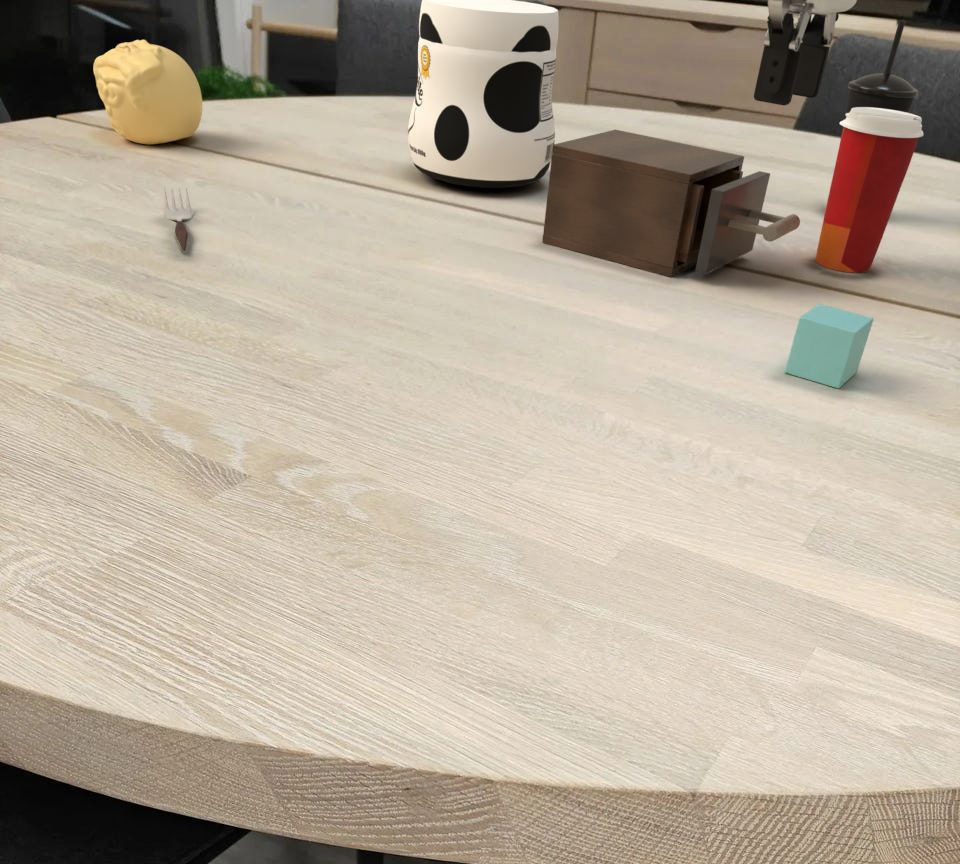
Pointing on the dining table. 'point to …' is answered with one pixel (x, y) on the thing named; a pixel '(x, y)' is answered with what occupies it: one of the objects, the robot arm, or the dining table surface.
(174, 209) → the fork
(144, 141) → the sculpture
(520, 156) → the milk container
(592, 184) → the cabinet
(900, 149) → the paper cup
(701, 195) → the drawer
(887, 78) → the drinking cup
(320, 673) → the dining table surface
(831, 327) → the teal cube
